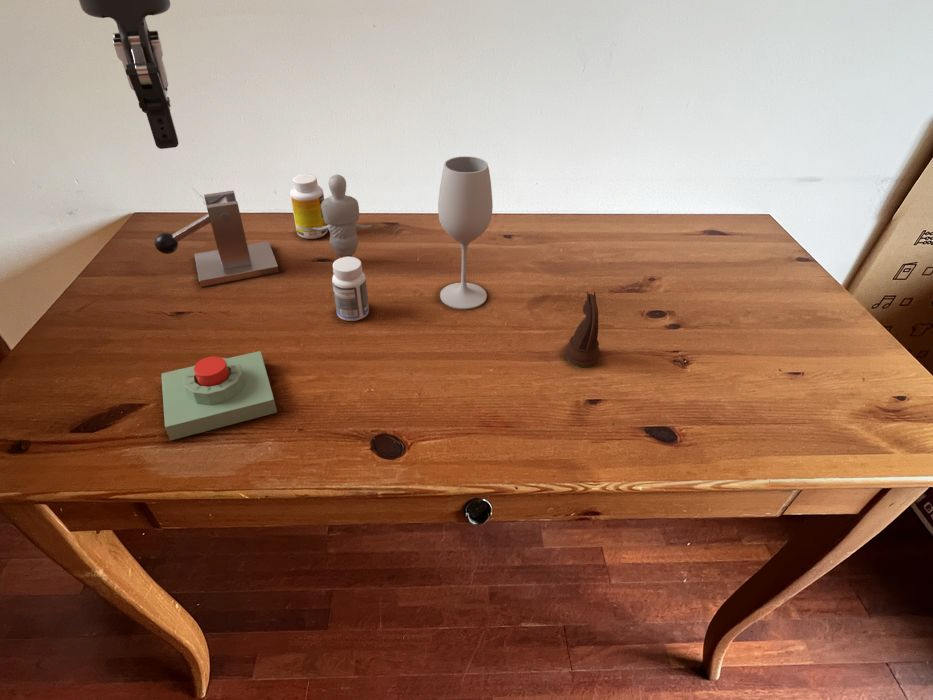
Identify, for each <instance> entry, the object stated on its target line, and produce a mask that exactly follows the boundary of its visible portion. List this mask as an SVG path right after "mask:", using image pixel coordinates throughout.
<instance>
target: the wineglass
mask: <svg viewBox="0 0 933 700" xmlns="http://www.w3.org/2000/svg"><path fill="white" fill-rule="evenodd" d="M438 191H439V192H438V198H437V199H438V200H437V213H438V214H437V215H438V220H439V222H440V225H441V227H442V229H443V230H444V232H446V234H447V235H448V236H449V237H450V238H452V239H453V240H455V241H456V242H458V243H459V244H460V247H461V275H460V276H461V277H460V281H461V282H455V283H451V284H448V285H447V286H445V287H443V288H442V289H441V290H440V293H439V296H440V301H441V302H442V304H444V305H445V306H447V307H449V308H453V309H457V310H472V309H476V308H478V307H481V306H482V305H483V304H485V302H486V301H487V296H488V295H487V291H486V290H485V289H484V288H483V287H481V285H478V284H476V283H472V282H467V263H468V262H467V260H468V259H467V258H468V255H467V254H468V247H469V245H470V243H472V242H474V241H475V240H477V239H478V238H480V237H481V236H482V235H483V234H484V233H485V232H486V230H488V228H489V226H490V224H491V221H492V216H493V208H494V207H493V206H494V205H493V203H494V202H493V189H492V180H491V173H490V168H489V164H488V161H486V160H485V159H482V158H481V157H477V156H470V155H469V156H466V155H464V156H462V155H461V156H455V157H451V158H449V159H447V160H445V161H444V164H443V167H442V171H441V177H440V183H439V190H438Z"/></svg>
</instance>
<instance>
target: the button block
mask: <svg viewBox="0 0 933 700" xmlns="http://www.w3.org/2000/svg"><path fill="white" fill-rule="evenodd" d="M222 358H223V359H224V360H225V361H226V364H227V367H228V371H229V377H228V378H227V380H226V381H224V382H223V383H221V384H219V385H216V386H212V387H206V386H202V385H200V384H199V383H198V381H197V378H196V375H195V372H194V367H195V365H196V364H194V365H193V366H188V367H184V368H179V369H174V370H171V371H165V372H161V374H160V375H161V377H160V378H161V389H162V402H163V403H162V405H163V419H164V428H165V431H166V433H167V436H168V438H169V441H174V440H178V439H182V438H185V437H189V436H193V435H196V434H200V433H204V432H208V431H212V430H217V429H220V428H223V427H227V426H231V425H235V424H239V423H243V422H247V421H250V420H251V421H252V420H254V419H259V418H261V417H265V416H266V417H267V416H269V415H273V414H277V413H278V410H277V405H276V402H275V398H274V394H273V390H272V387H271V384H270V380H269V375H268V372H267V369H266V365H265V361H264V357H263V354H262V351H261V350H259V351H254V352H249V353H245V354H241V355H240V354H239V355H237V356H232V357H222Z"/></svg>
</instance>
